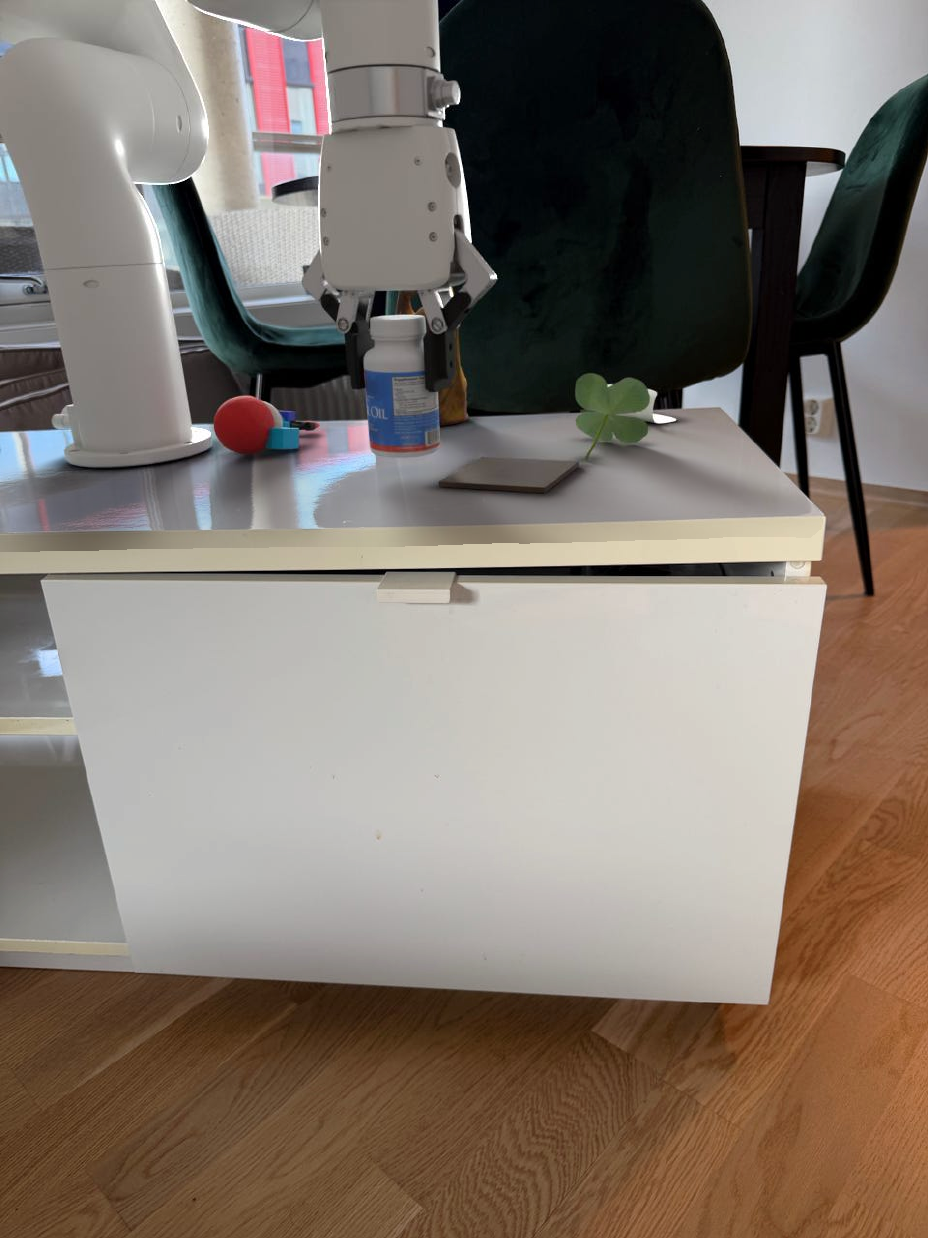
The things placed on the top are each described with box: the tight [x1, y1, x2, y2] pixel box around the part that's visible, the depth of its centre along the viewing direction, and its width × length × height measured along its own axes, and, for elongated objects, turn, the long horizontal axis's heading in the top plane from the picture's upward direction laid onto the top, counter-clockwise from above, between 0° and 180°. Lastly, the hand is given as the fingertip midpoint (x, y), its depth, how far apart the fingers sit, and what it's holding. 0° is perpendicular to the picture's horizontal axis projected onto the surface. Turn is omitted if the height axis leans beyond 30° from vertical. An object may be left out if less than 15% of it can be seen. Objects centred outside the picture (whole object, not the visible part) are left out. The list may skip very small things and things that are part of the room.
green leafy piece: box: [574, 372, 650, 461], centre depth 70 cm, size 7×8×7 cm
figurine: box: [395, 286, 469, 427], centre depth 85 cm, size 6×7×13 cm
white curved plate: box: [607, 383, 677, 424], centre depth 83 cm, size 4×8×3 cm, turn 31°
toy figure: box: [213, 395, 320, 455], centre depth 79 cm, size 8×5×15 cm
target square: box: [437, 456, 580, 494], centre depth 64 cm, size 8×8×1 cm
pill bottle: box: [364, 314, 441, 459], centre depth 65 cm, size 6×5×10 cm
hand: (401, 385), depth 65 cm, fingers closed on pill bottle, 5 cm apart
